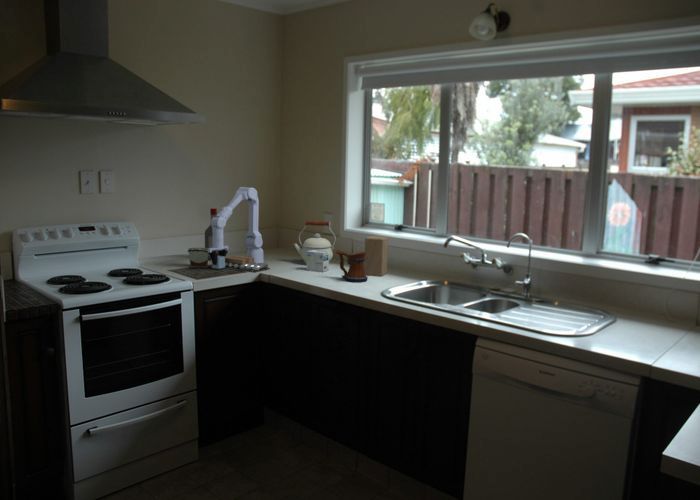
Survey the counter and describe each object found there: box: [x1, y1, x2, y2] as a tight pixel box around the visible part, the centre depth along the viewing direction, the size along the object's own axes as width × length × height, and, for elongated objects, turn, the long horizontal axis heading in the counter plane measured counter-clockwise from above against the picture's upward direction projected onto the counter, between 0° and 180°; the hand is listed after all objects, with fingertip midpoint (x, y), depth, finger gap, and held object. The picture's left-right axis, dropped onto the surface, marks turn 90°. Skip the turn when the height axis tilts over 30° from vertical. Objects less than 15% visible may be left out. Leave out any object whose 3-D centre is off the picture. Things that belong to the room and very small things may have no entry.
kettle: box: [293, 220, 337, 265], centre depth 342 cm, size 25×18×25 cm
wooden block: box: [364, 235, 389, 277], centre depth 314 cm, size 10×10×20 cm
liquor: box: [204, 207, 219, 261], centre depth 347 cm, size 9×9×30 cm
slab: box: [225, 255, 254, 265], centre depth 324 cm, size 10×12×2 cm
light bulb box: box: [306, 250, 330, 273], centre depth 322 cm, size 11×7×11 cm, turn 65°
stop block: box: [211, 256, 226, 270], centre depth 319 cm, size 5×5×6 cm
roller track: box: [224, 262, 271, 274], centre depth 323 cm, size 13×24×3 cm, turn 61°
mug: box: [336, 249, 369, 283], centre depth 299 cm, size 18×12×15 cm, turn 57°
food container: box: [187, 247, 209, 268], centre depth 326 cm, size 12×6×10 cm, turn 84°
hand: (218, 264), depth 320 cm, fingers closed on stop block, 5 cm apart
